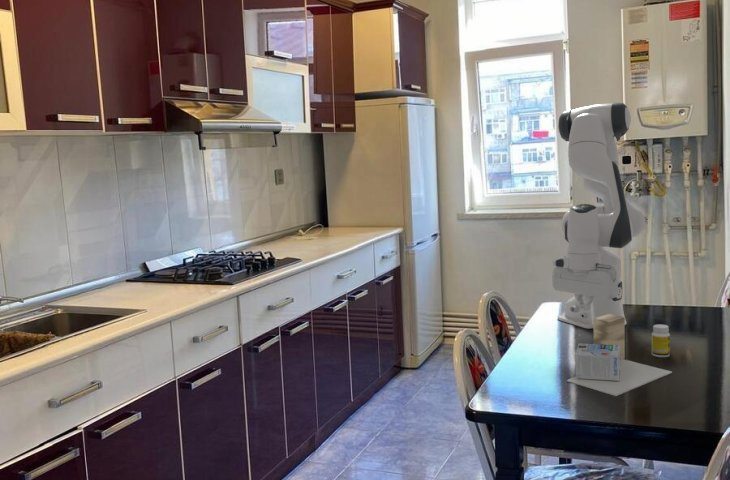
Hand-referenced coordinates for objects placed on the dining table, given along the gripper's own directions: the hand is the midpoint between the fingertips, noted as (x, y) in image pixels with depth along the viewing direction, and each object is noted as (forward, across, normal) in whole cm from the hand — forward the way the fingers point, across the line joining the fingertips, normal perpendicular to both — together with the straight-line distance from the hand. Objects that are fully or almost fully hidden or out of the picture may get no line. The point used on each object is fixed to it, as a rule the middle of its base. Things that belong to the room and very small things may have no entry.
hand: (584, 309), depth 194 cm
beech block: (+13, -8, -1) cm, 15 cm away
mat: (+13, -18, +9) cm, 24 cm away
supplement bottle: (+13, -15, -14) cm, 24 cm away
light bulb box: (+10, -9, +15) cm, 20 cm away
